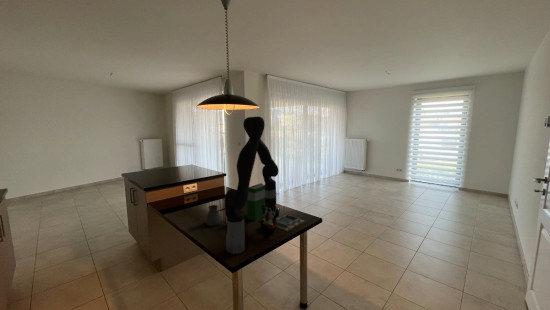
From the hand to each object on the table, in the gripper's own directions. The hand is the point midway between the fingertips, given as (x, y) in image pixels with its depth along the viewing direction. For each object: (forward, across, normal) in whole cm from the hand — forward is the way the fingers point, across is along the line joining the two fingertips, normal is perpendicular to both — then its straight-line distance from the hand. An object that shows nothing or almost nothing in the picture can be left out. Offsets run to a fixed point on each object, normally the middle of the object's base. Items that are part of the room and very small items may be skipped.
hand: (270, 221), depth 140 cm
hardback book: (+7, -24, +13) cm, 28 cm away
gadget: (+7, 0, 0) cm, 7 cm away
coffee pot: (+7, -33, -17) cm, 38 cm away
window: (+6, 0, +17) cm, 18 cm away
